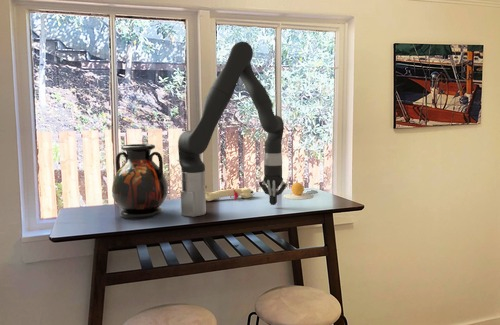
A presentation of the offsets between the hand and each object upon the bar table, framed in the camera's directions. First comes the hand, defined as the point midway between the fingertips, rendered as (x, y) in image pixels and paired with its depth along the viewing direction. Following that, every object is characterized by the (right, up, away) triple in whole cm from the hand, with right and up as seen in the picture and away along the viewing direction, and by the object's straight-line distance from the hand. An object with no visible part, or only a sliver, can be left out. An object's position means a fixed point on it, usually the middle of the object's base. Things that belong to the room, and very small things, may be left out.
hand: (273, 204), depth 180 cm
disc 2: (+19, +3, +34) cm, 39 cm away
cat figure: (-20, 0, +19) cm, 27 cm away
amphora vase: (-53, -4, -9) cm, 54 cm away
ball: (+13, +5, +26) cm, 30 cm away
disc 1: (+13, +2, +24) cm, 27 cm away
